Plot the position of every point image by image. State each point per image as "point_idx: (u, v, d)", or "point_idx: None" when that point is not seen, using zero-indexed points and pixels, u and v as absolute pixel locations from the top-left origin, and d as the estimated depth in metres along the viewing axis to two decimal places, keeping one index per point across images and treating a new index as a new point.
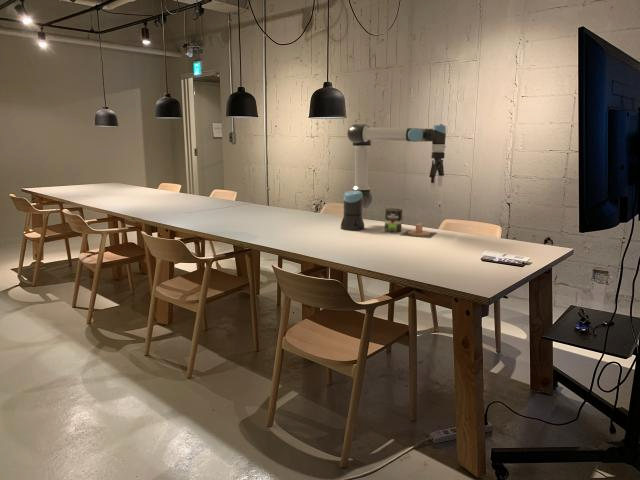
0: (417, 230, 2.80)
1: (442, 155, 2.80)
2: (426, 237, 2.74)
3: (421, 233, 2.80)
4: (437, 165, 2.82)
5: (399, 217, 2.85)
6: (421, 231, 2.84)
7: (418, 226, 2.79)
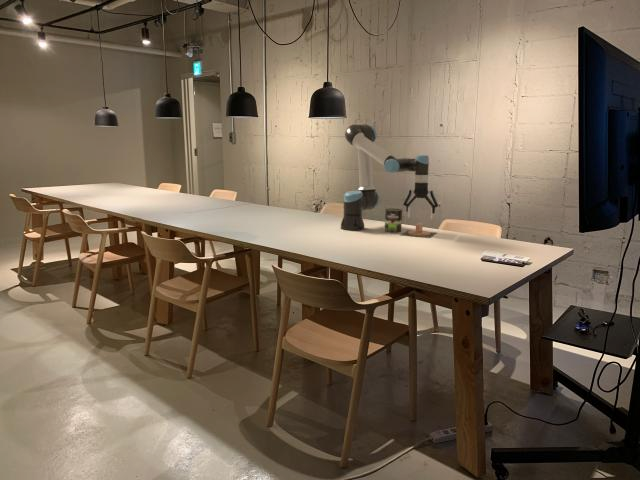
0: (417, 230, 2.80)
1: (416, 185, 2.75)
2: (426, 237, 2.74)
3: (421, 233, 2.80)
4: None
5: (399, 217, 2.85)
6: (421, 231, 2.84)
7: (418, 226, 2.79)
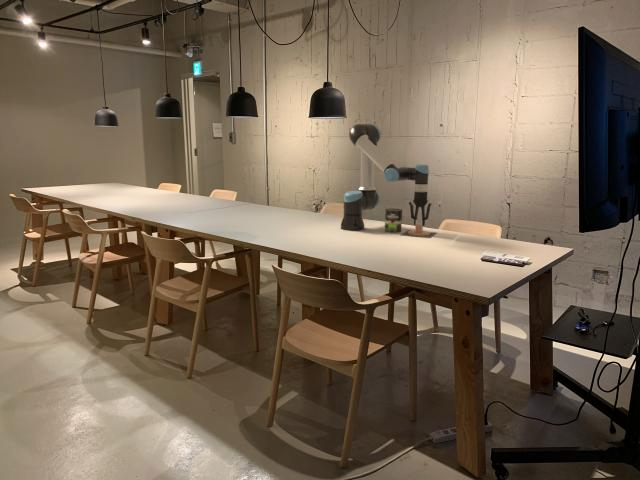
0: (417, 230, 2.80)
1: (416, 195, 2.76)
2: (426, 237, 2.74)
3: (421, 233, 2.80)
4: (415, 204, 2.80)
5: (399, 217, 2.85)
6: (421, 231, 2.84)
7: (418, 226, 2.79)
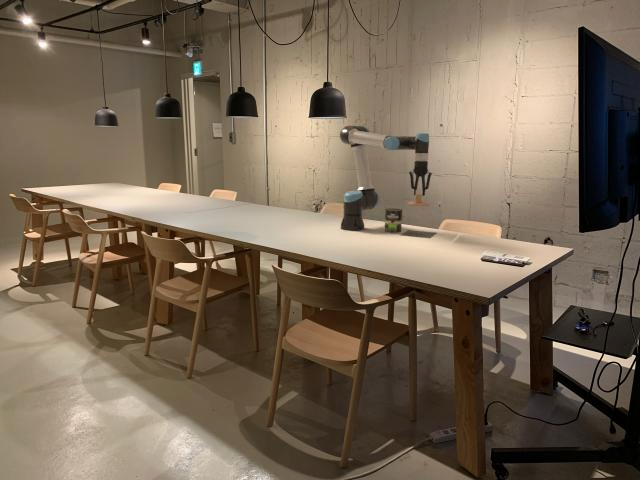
0: (417, 200, 2.76)
1: (416, 164, 2.73)
2: (426, 237, 2.74)
3: (421, 203, 2.77)
4: (415, 174, 2.77)
5: (399, 217, 2.85)
6: None
7: (418, 196, 2.76)
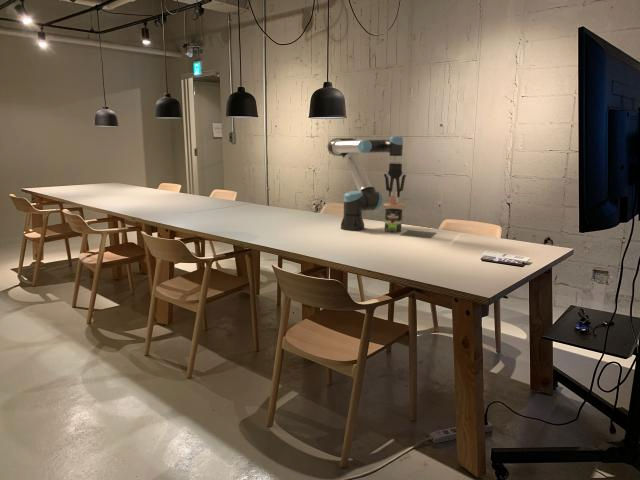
0: (392, 201, 2.83)
1: (390, 166, 2.80)
2: (426, 237, 2.74)
3: (396, 204, 2.83)
4: (390, 176, 2.84)
5: (399, 217, 2.85)
6: (396, 203, 2.87)
7: (393, 197, 2.82)
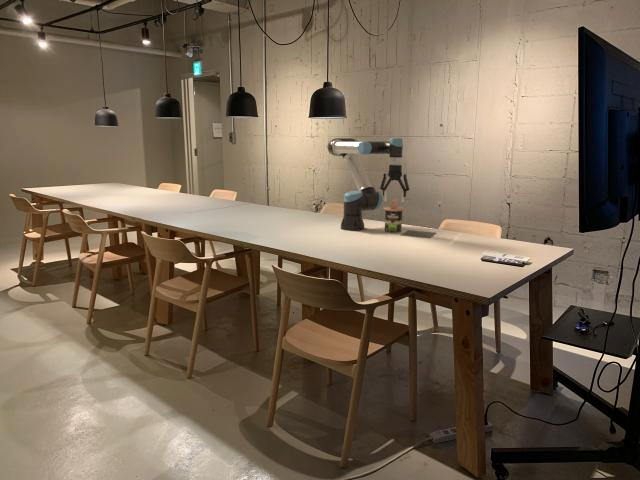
0: (392, 205, 2.84)
1: (390, 168, 2.80)
2: (426, 237, 2.74)
3: (396, 208, 2.84)
4: (390, 177, 2.84)
5: (399, 217, 2.85)
6: (396, 207, 2.88)
7: (393, 201, 2.83)
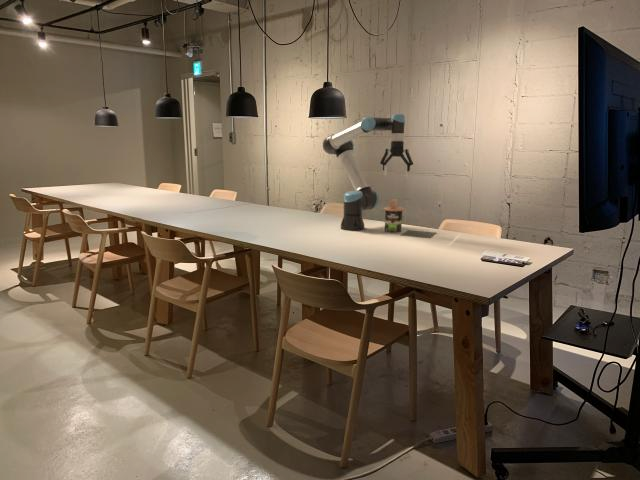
0: (392, 205, 2.84)
1: (392, 144, 2.83)
2: (426, 237, 2.74)
3: (396, 208, 2.84)
4: None
5: (399, 217, 2.85)
6: (396, 207, 2.88)
7: (393, 201, 2.83)
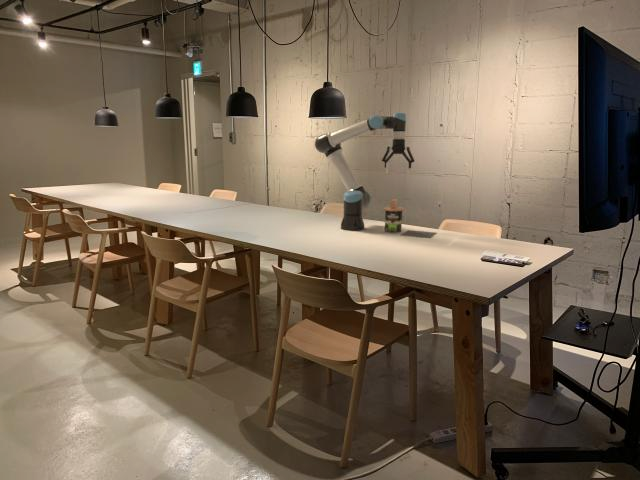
0: (392, 205, 2.84)
1: (394, 142, 2.91)
2: (426, 237, 2.74)
3: (396, 208, 2.84)
4: None
5: (399, 217, 2.85)
6: (396, 207, 2.88)
7: (393, 201, 2.83)
